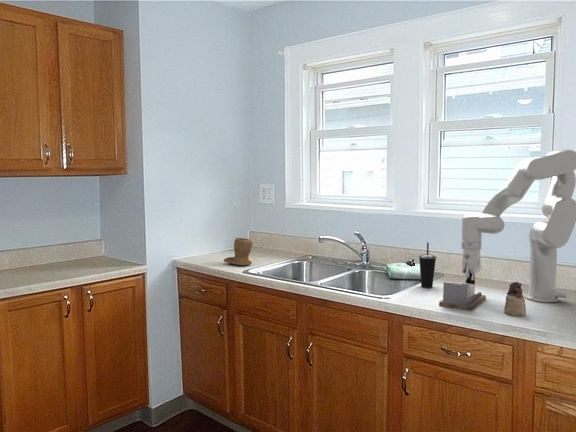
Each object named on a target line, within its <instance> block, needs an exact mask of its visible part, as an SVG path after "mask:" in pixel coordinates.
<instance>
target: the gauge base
mask: <svg viewBox="0 0 576 432" xmlns="http://www.w3.org/2000/svg"><path fill="white" fill-rule="evenodd" d="M486 298H487V295H484V294H482V292H481V291H478V292H476V293H475V294H474V296H473V297H471V298H470V299H469V305H468V306H461V305H455V304H449V303H443V299H442V300H440V301H439V302H438V305H439V306H440V307H444V308H451V309H456V310H461V311H463V310H464V311H469V312H472V311H473V310H474V309H475V308H477V307H478V306H479V305H480V304H482V303H483V302H484V301H486ZM439 306H438V307H439Z"/></svg>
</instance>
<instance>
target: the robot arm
mask: <svg viewBox="0 0 576 432" xmlns="http://www.w3.org/2000/svg"><path fill="white" fill-rule="evenodd" d="M575 170H576V151H575V150H573V149H572V150H571V149H557V150H552V151H549V152H548V153H547V154H545V156H544V155H543V156H539V157H527V158H524V159H522V160H521V161H520V162H519V163H518V164H517V166H516V167H515V168H514V170H513V172H512V173H511V175H510V176H509V177H508V179H507V181H506V182H505V183H504V185H503V186H502V188H500V190H499V191H497V193H496V194H495V195H494V196H493V197H492V198H491V199H489V201H488V202H487V203H486V205H485V206H484V207H483V209H482V210H481V212H480V213H479V214H466V215H463V216H462V219H461V250H463V252H462V264H461V265H462V268H461V272H462V273H463V274H464V275H465V276H464V277H465V283H469V284H475V285H476V274H477V273H479V272H480V271H481V270H482V269H481V267H482V266H481V264H482V263H481V250H482V238H483V235H482V234H490V235H496V234H500V233H501V232H502V231H504V230H505V229H504V228H505V221H504V219H503V218H501V215H502V214H503V213H504V212H505V211H506V210H507V209H508V208H510V207H511V206H513V205H515V204H517V203H518V202H520V201H521V200H522V199H523V198H524V197H525V195H526V194H527V192H528V190H529V189H531V188H530V187H531V186H532V185H533V184H534V182H535V181H539V180H545V179H551V182H550V186H549V189H548V191H547V193H546V197H545V199H544V201H543V202H542V207H541V212H542V214H543V216H545V217H546V218H547V219H548V221H546V220H540V221H537V222H535V223H533V225H531V227H530V229H529V234H528V235H529V236H528V237H529V244H530V245H529V246H530V248H529V249H530V256H529V257H530V258H529V280H528V291H527V292H524V295H523V296H524V299H527V300H530V301H534V302H538V303H557V302H559V301H560V298H563V299H568V298H569V297H568V296H569V295H568V293H567V292H564V291H559V290H558V288H557V287H556V283H557V281H556V280H557V267H558V266H557V263H558V250H557V249H560V248H562V247H564V246H565V245H566V244H567V243H568V242H569V239H570V238H571V236H572V233H573V231H574V228H575V225H576V200H575V199H573V194H574V192H575V189H576V174H575Z"/></svg>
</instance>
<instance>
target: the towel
mask: <svg viewBox="0 0 576 432" xmlns="http://www.w3.org/2000/svg"><path fill="white" fill-rule="evenodd" d="M406 263H407V262H393V263H387V264H386V267H387V274H388V276H389V278H390V279H395V280H415V281H416V280H417V281H421V274H420V263H415V266H412V267H411V266H409V265H407V264H406Z"/></svg>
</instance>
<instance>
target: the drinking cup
mask: <svg viewBox="0 0 576 432" xmlns="http://www.w3.org/2000/svg"><path fill="white" fill-rule="evenodd" d="M429 244H430V243H429V242H426V253H423V254H421V255H419V256H418V258H419V264H420V274H421V280H420V286H421V288H424V289H426V288H427V289H430V288H433V287H434V286H433V285H434V277H435V269H436V261H437V256H435V255H433V254H432V253H429V250H430V246H429Z"/></svg>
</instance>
